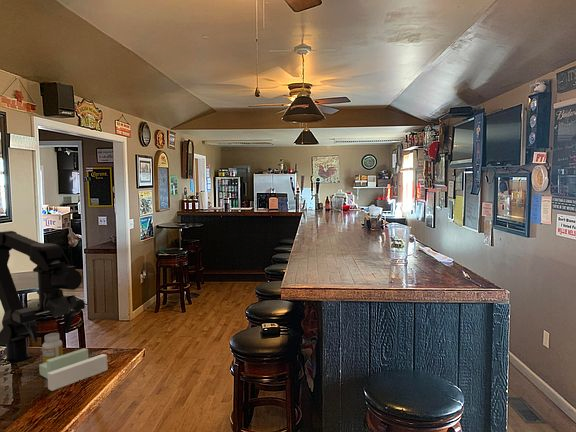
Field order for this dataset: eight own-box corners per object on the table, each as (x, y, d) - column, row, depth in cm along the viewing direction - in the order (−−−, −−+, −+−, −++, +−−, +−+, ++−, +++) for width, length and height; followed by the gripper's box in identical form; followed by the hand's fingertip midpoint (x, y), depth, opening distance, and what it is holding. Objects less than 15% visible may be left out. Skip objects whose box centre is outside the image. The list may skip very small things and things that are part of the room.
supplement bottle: (58, 360, 134) (56, 330, 133) (66, 364, 130) (65, 334, 130) (40, 366, 129) (38, 335, 129) (48, 371, 126) (46, 339, 125)
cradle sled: (39, 374, 123) (38, 356, 123) (77, 361, 132) (76, 344, 132) (50, 380, 119) (49, 361, 119) (88, 367, 128) (88, 349, 128)
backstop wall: (48, 388, 115) (47, 372, 114) (103, 368, 128) (103, 353, 127) (51, 391, 114) (50, 374, 113) (107, 370, 126) (107, 355, 126)
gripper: (27, 297, 116) (30, 353, 117) (93, 284, 131) (95, 334, 132) (10, 291, 122) (13, 344, 124) (75, 279, 137) (77, 327, 139)
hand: (51, 337), depth 129 cm, fingers open, 9 cm apart
